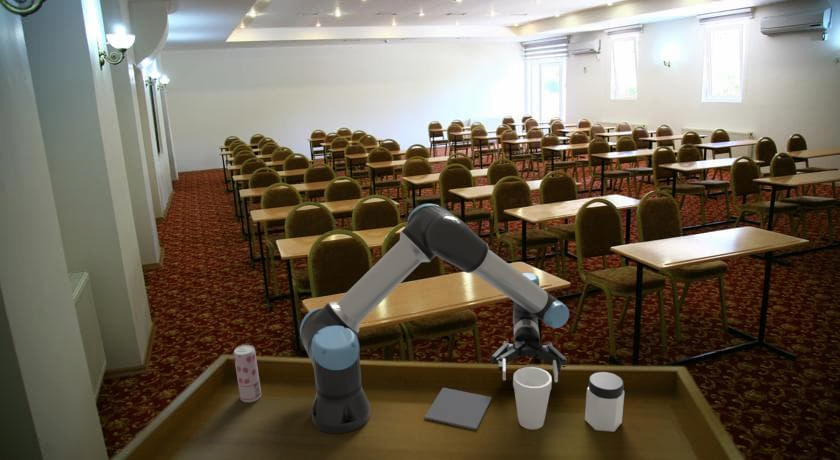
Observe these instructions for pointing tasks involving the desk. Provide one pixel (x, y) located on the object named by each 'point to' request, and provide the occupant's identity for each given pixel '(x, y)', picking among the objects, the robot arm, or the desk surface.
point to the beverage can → (247, 373)
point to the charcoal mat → (459, 408)
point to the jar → (604, 401)
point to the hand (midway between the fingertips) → (530, 376)
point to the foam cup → (531, 395)
